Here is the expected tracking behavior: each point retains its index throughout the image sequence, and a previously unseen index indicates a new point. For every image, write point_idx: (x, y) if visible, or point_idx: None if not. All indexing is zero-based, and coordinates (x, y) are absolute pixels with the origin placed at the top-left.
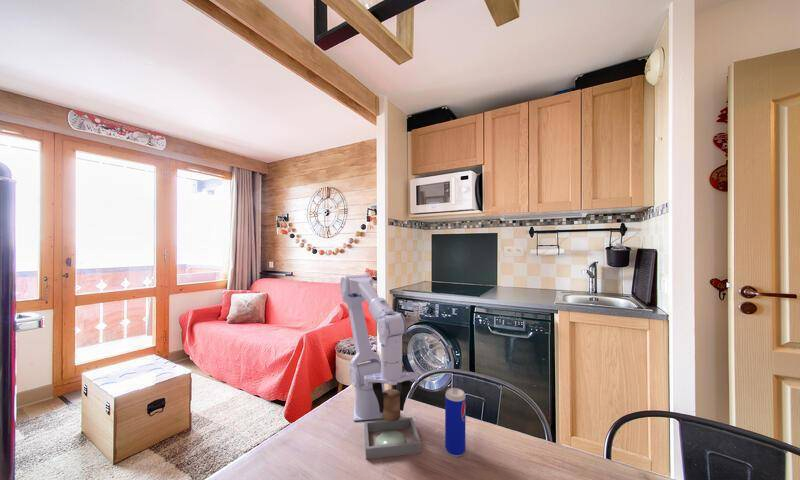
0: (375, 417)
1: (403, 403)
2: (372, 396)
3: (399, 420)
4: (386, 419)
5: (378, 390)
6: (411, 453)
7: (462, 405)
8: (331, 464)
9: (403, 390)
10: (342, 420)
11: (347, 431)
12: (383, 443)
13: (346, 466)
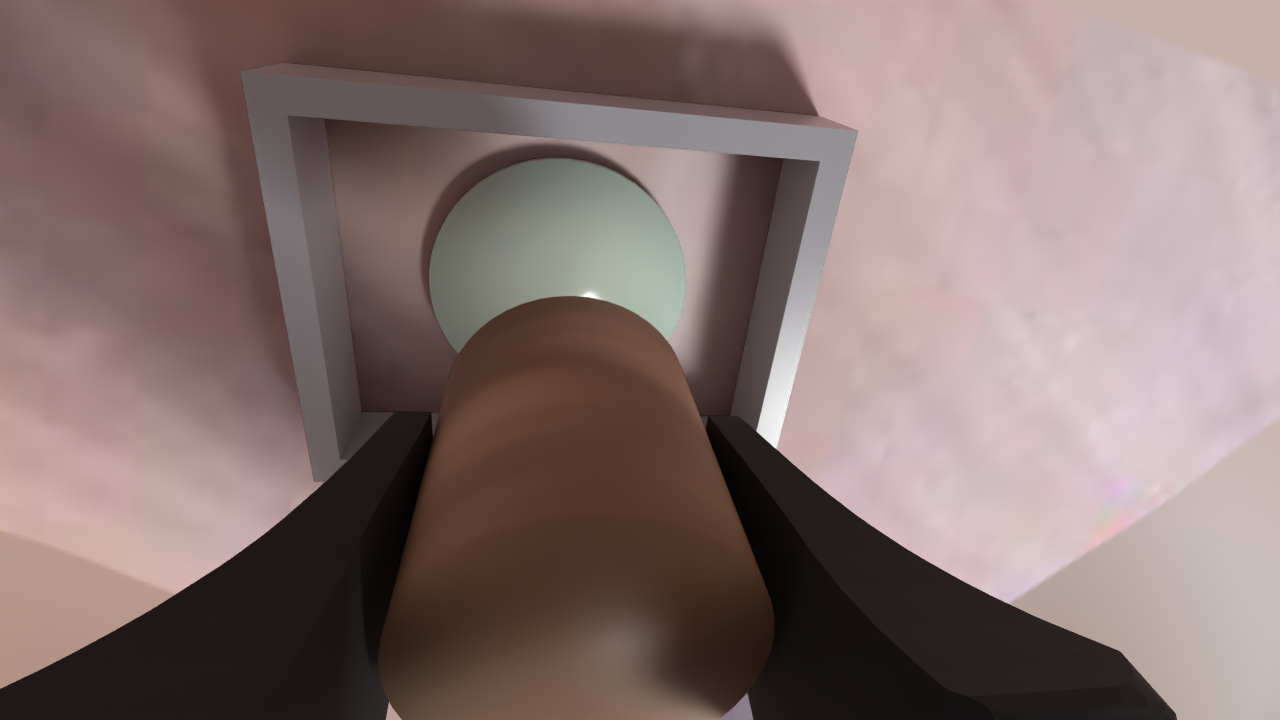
0: None
1: (357, 470)
2: None
3: None
4: (652, 334)
5: (1079, 704)
6: (387, 73)
7: None
8: (1079, 128)
9: (233, 701)
10: None
11: (863, 443)
12: (636, 257)
13: (987, 72)
